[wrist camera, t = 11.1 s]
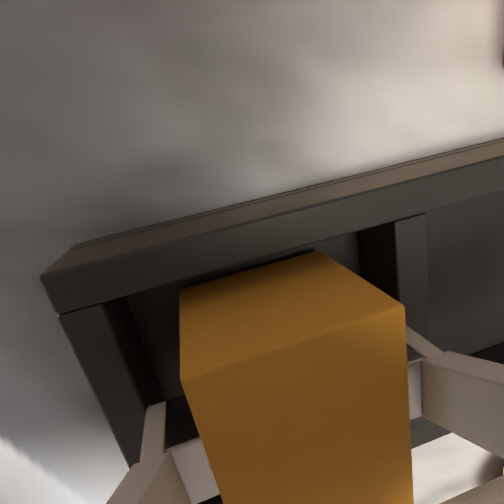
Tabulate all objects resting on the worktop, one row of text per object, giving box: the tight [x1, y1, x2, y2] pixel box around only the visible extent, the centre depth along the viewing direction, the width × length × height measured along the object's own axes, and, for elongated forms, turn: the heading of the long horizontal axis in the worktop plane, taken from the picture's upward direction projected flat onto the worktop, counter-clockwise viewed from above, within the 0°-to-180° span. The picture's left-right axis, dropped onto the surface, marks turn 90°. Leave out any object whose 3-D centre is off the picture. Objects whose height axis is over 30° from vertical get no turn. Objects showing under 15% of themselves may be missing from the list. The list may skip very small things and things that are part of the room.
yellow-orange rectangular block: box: [179, 251, 414, 504], centre depth 9 cm, size 6×4×4 cm
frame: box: [40, 138, 504, 504], centre depth 11 cm, size 10×18×3 cm, turn 102°
